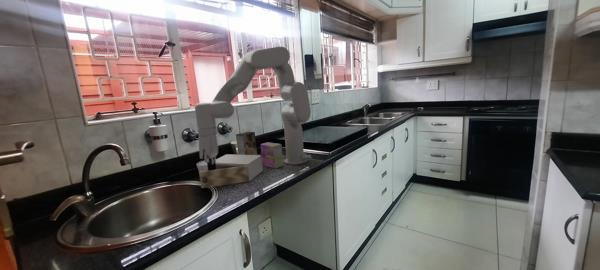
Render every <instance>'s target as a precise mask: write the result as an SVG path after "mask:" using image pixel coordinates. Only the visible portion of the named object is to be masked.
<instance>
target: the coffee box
mask: <svg viewBox="0 0 600 270" xmlns="http://www.w3.org/2000/svg"><path fill="white" fill-rule="evenodd" d="M235 138H236V148H237V155H258V149H257V148H258V147H257V140H256V132H255V131H245V132H240V133H236V134H235Z"/></svg>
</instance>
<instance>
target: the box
mask: <svg viewBox="0 0 600 270" xmlns="http://www.w3.org/2000/svg"><path fill="white" fill-rule="evenodd" d="M260 151H261V156H262V166H263V167H268V168H273V169H278V168H280V167H283V166H284V159H283V147H282V144H281V143H275V142H269V141H268V142H264V143H260Z"/></svg>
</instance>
